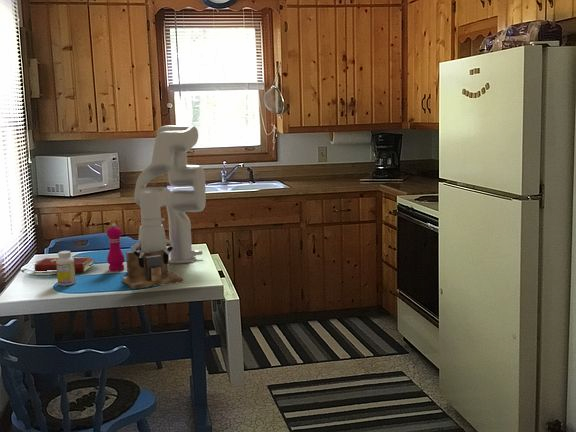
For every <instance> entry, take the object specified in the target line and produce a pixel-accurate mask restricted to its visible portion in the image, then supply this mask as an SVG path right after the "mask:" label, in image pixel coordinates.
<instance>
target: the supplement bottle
mask: <svg viewBox="0 0 576 432" xmlns="http://www.w3.org/2000/svg"><path fill="white" fill-rule="evenodd" d="M57 254H58V258H59V259H57V261H56V265H57V272H56V275H57V284H58V285H59V286H64V287H65V286H66V287H67V286H72V285H74V284H76V272H75V267H74V259H73V258H74V257H72V253H71V250H61V251H59V252H58V253H57Z"/></svg>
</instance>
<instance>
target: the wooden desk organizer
mask: <svg viewBox="0 0 576 432" xmlns="http://www.w3.org/2000/svg"><path fill="white" fill-rule="evenodd" d="M167 248H168V247H166V249H167ZM137 252H138V253H139V251H137ZM125 254H126V255H125V257H126V259H125V260H126V271H127V272H126V274H127V276H122V280H123V281H124V284H126V285H127V284H128V285H129V286H128V285H127V286H128V287H130V288H131V290H137V289H136V288H139V289H144V288H143V287H146V288H150V287H149V286H152V287H155V286H154V285H159V286H162V285H161V284H166V285H170V283H172V284H177V283H176V282H179V283H184V278H183V277H182V276H180V275H179V274H177V273H175V272H174V271H172V270H169V266H168V265H169V264H167V265H166V264H165V263H164V258H163V254H164V251H163V250H162V251H155V252H147V253H144V255H143V256H142V258H143V259H144V268H141V267H140V266H139V263H138V257H137V256H136V255H135V254H134V253H133V252H131V251H126V252H125ZM156 255H160V256H162V272H163V279H162V276H161V267H156V268H151V280H150V281H148V280H146V271H145V257H148V256H156ZM122 280H121V281H122ZM123 281H122V282H123Z"/></svg>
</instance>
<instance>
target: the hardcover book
mask: <svg viewBox="0 0 576 432" xmlns="http://www.w3.org/2000/svg"><path fill="white" fill-rule="evenodd" d="M72 258H73V259H74V267H75V273H85V272H86V271H87V270H88V269H89V268H91V267H92V266H93V263H92V262H93V261H92V259H93V257H72ZM57 259H59V257H54V258H53V257H47V258H46V257H45V258H43V259H41V260H40V261H37V262H36V263H35V264H34V272H35V271H47V270H57V265H56V261H57ZM90 263H92V265H91V266H89V264H90Z"/></svg>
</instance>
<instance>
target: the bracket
mask: <svg viewBox="0 0 576 432" xmlns="http://www.w3.org/2000/svg"><path fill="white" fill-rule="evenodd" d="M156 267H161V276H162V279H163V272H162V256H160V255H156V256H148V257H145V271H146V280H148V281H150V280H151V268H156Z"/></svg>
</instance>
